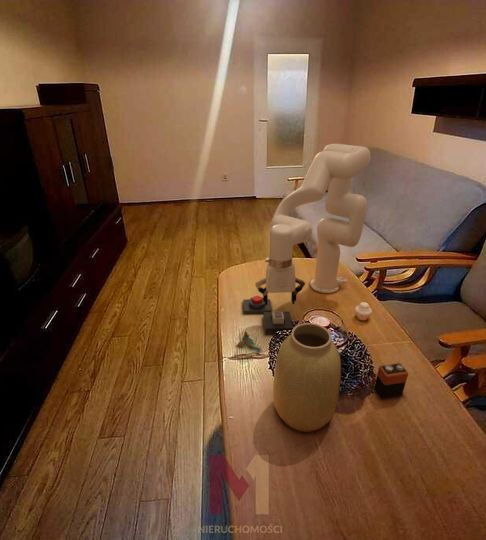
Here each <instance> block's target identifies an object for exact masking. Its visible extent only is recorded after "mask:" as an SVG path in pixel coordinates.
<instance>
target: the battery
mask: <svg viewBox="0 0 486 540" xmlns="http://www.w3.org/2000/svg"><path fill="white" fill-rule="evenodd" d="M408 376H409V372H408V370H407V369H406V367H404V365H403V364H402V363H401V362H397V363H391V364H383V365H379V366H378V369H377V374H376V379H375V382H374V387H373V389H374V390H375V392H376V393H377V394H378V397H380V399H388V398H393V397H401V396H402V395H403V393H404V390H405V386H406V383H407V380H408Z"/></svg>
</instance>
